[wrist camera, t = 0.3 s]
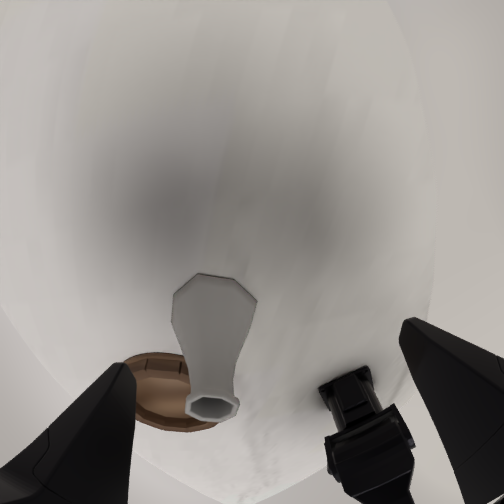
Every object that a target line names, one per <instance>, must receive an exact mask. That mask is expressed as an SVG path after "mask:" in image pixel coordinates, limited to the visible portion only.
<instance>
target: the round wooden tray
mask: <svg viewBox="0 0 504 504" xmlns="http://www.w3.org/2000/svg"><path fill="white" fill-rule="evenodd" d="M124 363H126V364H127V365H128V366H129V368H130V370H131V372H132V373H133V375H134V377H135V379H136V382H137V394H136V420H137V421H139V422H141V423H144V424H147V425H149V426H152V427H155V428H158V429H161V430H163V429H164V430H165V431H176V432H195V431H200V430H204V429H209V428H212V427H214V426H215V425H217V424H218V423H219V422H207V421H200V420H198V419H196V418H194V417H192V416H190V415H188V414H186V413H185V403H186V398H187V396H188V395H189V394H191V385H190V378H189V371H188V367H187V364H186V361H185V358H184V356H181V355H176V354H169V353H145V354H140V355H136V356H133V357H131V358H129V359H127V360H126V361H124Z"/></svg>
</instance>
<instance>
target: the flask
mask: <svg viewBox="0 0 504 504" xmlns="http://www.w3.org/2000/svg"><path fill="white" fill-rule="evenodd" d="M256 305H257V301H256V300H255V299H254V298H253V297H252V296H251V295H250V294H249V293H248V292H246V291H245V290H244V289H243V288H242V287H241V286H240V285H239V284H238V283H237V282H236V281H235V280H231V279H224V278H218V277H212V276H205V275H199V274H197V275H196V276H195V277H194V278H193V279H192V280H190V281H189V282H188V283H187V284H186V285H185V286H183V287H182V288H181V289H180V290H179V291H178V292H176V293H175V294H174V295H173V306H172V319H171V323H172V326H173V329H174V331H175V334H176V336H177V339H178V342H179V344H180V347H181V350H182V353H183V355H184V358H185V361H186V364H187V367H188V371H189V378H190V385H191V394H189V395H188V396H187V398H186V403H185V413H186V414H188V415H190V416H192V417H194V418H196V419H198V420H200V421H207V422H219V423H221V422H223V421H226V420H228V419H230V418H232V417H234V416H236V414H237V411H238V408H239V406H240V402H239V399H238V398H237V397H235V396H234V390H233V377H234V371H235V365H236V362H237V359H238V356H239V354H240V351H241V348H242V346H243V344H244V341H245V339H246V337H247V335H248V332H249V329H250V326H251V323H252V319H253V316H254V312H255V309H256Z"/></svg>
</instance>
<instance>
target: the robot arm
mask: <svg viewBox="0 0 504 504" xmlns="http://www.w3.org/2000/svg"><path fill="white" fill-rule="evenodd" d="M399 345H400V347H401V350H402V352H403V355H404V357H405V360H406V362H407V365H408V368H409V370H410V373H411V375H412V378H413V380H414V382H415V384H416V387H417V389H418V391H419V393H420V394H421V397H422V399H423V400H424V403H425V405H426V407H427V409H428V411H429V413H430V416H431V418H432V420H433V422H434V424H435V426H436V429H437V431H438V433H439V436H440V438H441V440H442V443H443V445H444V448H445V450H446V453H447V455H448V458H449V460H450V462H451V465H452V468H453V470H454V474H455V476H456V479H457V482H458V484H459V487H460V490H461V493H462V496H463V499H464V502H465V504H487V503H489V502H490V501H492V500H494V499H496V498H497V497H499V496H500V495H502V494H504V358H501V357H499V356H496V355H495V354H493V353H491V352H489V351H487V350H485V349H482V348H480V347H478V346H476V345H474V344H472V343H470V342H467V341H465V340H463V339H461V338H459V337H457V336H455V335H452V334H451V333H448V332H446V331H444V330H442V329H440V328H438V327H435V326H433V325H431V324H429V323H427V322H425V321H423V320H421V319H418V318H416V317H412V318H409V319H405V320H404V321H403V324H402V328H401V332H400V335H399ZM318 390H319V393H320V395H321V397H322V398H323V400H324V402H325V404H326V406H327V408H328V409H329V411H331V412H332V415H333V418H334V421H335V424H336V427H337V429H338V433H335V434H333V435H331V436H326V437H325V443H324V445H325V449H326V455H327V471H328V473H329V474H330V475H333V476H334V478H335V479H336V481H337V482H339V483H340V482H341V483H342V486H343V489H344V492H345V493H347V494H348V495H349V496H350V497H353V498H355V499H356V500H357V501H359V502H361V503H362V504H415V503H414V501H413V498H412V496H411V493H410V490H409V489H410V485H411V480H412V476H413V471H414V464H415V462H414V457H413V454H412V452H411V449H413V448H415V447H416V446H415V443H414V440H413V438H412V435H411V433H410V431H409V429H408V427H407V425H406V423H405V422H404V420H403V418H402V416H401V414H400V413H399V411H398V409H397V407H396V406H395V404H394V403H393V404H392V405H390V407H388V408H386V409H384V410H383V408H382V406H381V404H380V402H379V400H378V398H377V396H376V394H375V392H374V387H373V382H372V377H371V372H370V369H369V367H368V366H365V367H363V368H361V369H359V370H357V371H355V372H353V373H351V374H348V375H346V376H344V377H342V378H340V379H337V380H335V381H333V382H331V383H328V384H326V385H324V386H321V387H320V388H319V389H318ZM136 394H137V382H136V379H135V377H134V375H133V373H132V372H131V370H130V368H129V366H128V365H127V364H126V363H124V362H116V363H113V364H112V365H111V366H110V367H109V368H108V369H107V370H106V371H105V372H104V373H103V374H102V375H101V376H100V377H99V378H98V379H97V380H96V381H95V382H93V383H92V384H91V385H90V386H89V387H88V388H87V389H86V390H85V391H84V392H83V393H82V394H81V395H80V396H79V397H78V398H77V399H76V400H75V401H74V402H73V403H72V404H71V405H70V406H69V407H68V408H67V409H66V410H65V411H64V412H63V413H62V414H61V415H60V416H59V417H58V418H57V419H56V420H55V421H54V422H53V423H52V424H51V425H50V426H49V427H48V428H47V429H46V430H45V431H44V432H43V433H42V434H41V435H40V436H38V437H37V438H36V439H35V440H34V441H33V442H32V443H31V444H30V445H29V446H27V447H26V448H25V449H24V450H23V451H22V452H20V453H19V454H18V455H17V456H15V457H14V458H13V459H12V460H10V461H9V462H8V463H7V464H6V465H4V466H3V467H2V468H0V504H128V488H129V476H130V465H131V455H132V447H133V439H134V431H135V420H136ZM494 504H504V495H503V496H502V497H501V498H500V499H498V500H497V501H496V502H495V503H494Z"/></svg>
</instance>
